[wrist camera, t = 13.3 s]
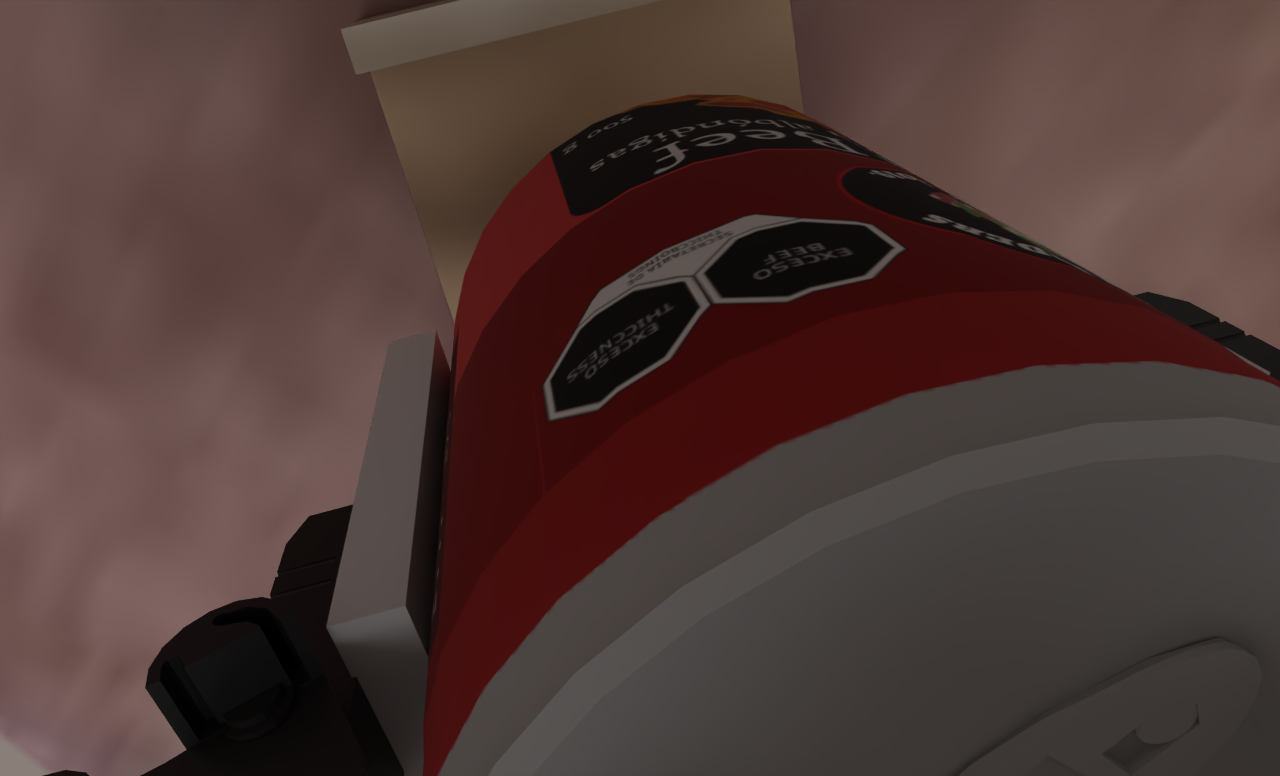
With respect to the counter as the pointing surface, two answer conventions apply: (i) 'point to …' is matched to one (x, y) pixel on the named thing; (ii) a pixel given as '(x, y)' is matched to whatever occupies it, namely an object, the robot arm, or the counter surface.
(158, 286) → the counter surface
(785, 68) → the notched rail
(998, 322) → the canned food
